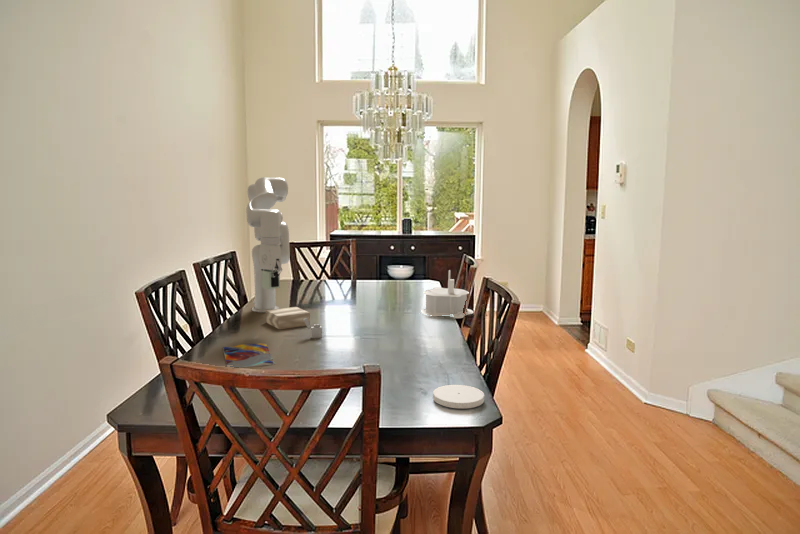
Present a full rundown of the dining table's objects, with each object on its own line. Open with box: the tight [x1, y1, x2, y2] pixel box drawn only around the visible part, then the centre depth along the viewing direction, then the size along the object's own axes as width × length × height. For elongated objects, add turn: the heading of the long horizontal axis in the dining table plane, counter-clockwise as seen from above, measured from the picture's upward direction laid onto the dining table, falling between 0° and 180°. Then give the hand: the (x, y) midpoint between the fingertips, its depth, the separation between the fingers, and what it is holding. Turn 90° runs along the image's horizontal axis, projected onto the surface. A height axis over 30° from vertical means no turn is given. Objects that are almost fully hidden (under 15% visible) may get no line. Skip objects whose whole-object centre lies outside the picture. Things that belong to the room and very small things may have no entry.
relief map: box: [222, 342, 276, 369], centre depth 193 cm, size 25×15×2 cm, turn 21°
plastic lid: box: [432, 384, 485, 410], centre depth 153 cm, size 14×14×2 cm
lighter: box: [303, 318, 323, 339], centre depth 217 cm, size 7×2×8 cm, turn 104°
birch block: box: [265, 306, 311, 330], centre depth 239 cm, size 14×14×6 cm
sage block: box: [262, 270, 281, 290], centre depth 225 cm, size 5×5×7 cm
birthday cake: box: [420, 269, 474, 319], centre depth 264 cm, size 30×29×22 cm
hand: (271, 285), depth 225 cm, fingers closed on sage block, 5 cm apart
